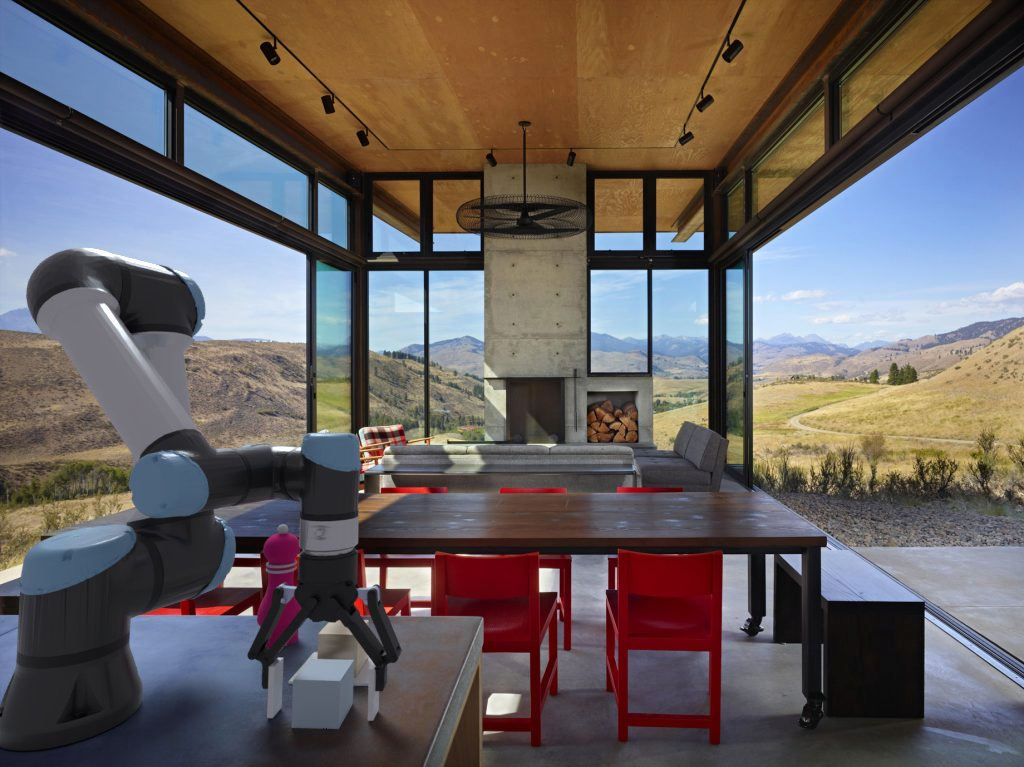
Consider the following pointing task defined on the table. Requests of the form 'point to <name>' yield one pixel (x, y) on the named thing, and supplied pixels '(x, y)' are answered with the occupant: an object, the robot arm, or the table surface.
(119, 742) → the table surface
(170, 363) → the robot arm
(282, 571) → the pepper mill
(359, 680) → the mat
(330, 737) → the table surface
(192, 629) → the table surface
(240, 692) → the table surface
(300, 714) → the slate cube
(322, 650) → the maple cube
